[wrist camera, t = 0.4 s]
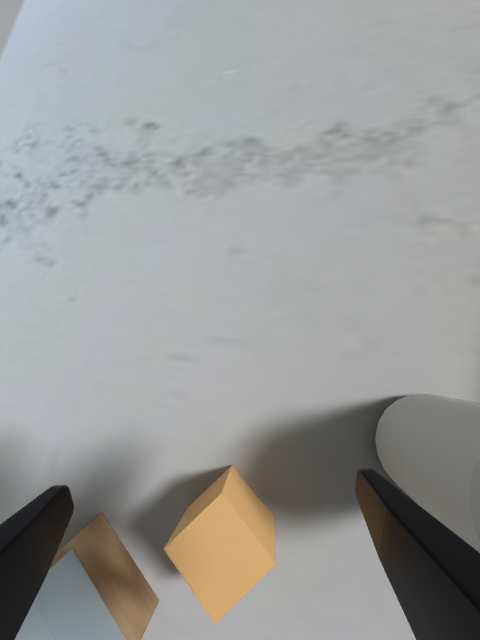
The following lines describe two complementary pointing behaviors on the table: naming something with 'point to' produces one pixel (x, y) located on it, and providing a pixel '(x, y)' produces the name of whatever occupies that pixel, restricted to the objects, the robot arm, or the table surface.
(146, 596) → the walnut base block
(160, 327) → the table surface
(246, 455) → the table surface
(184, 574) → the ochre cube
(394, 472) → the can
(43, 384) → the table surface
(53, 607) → the slate block
